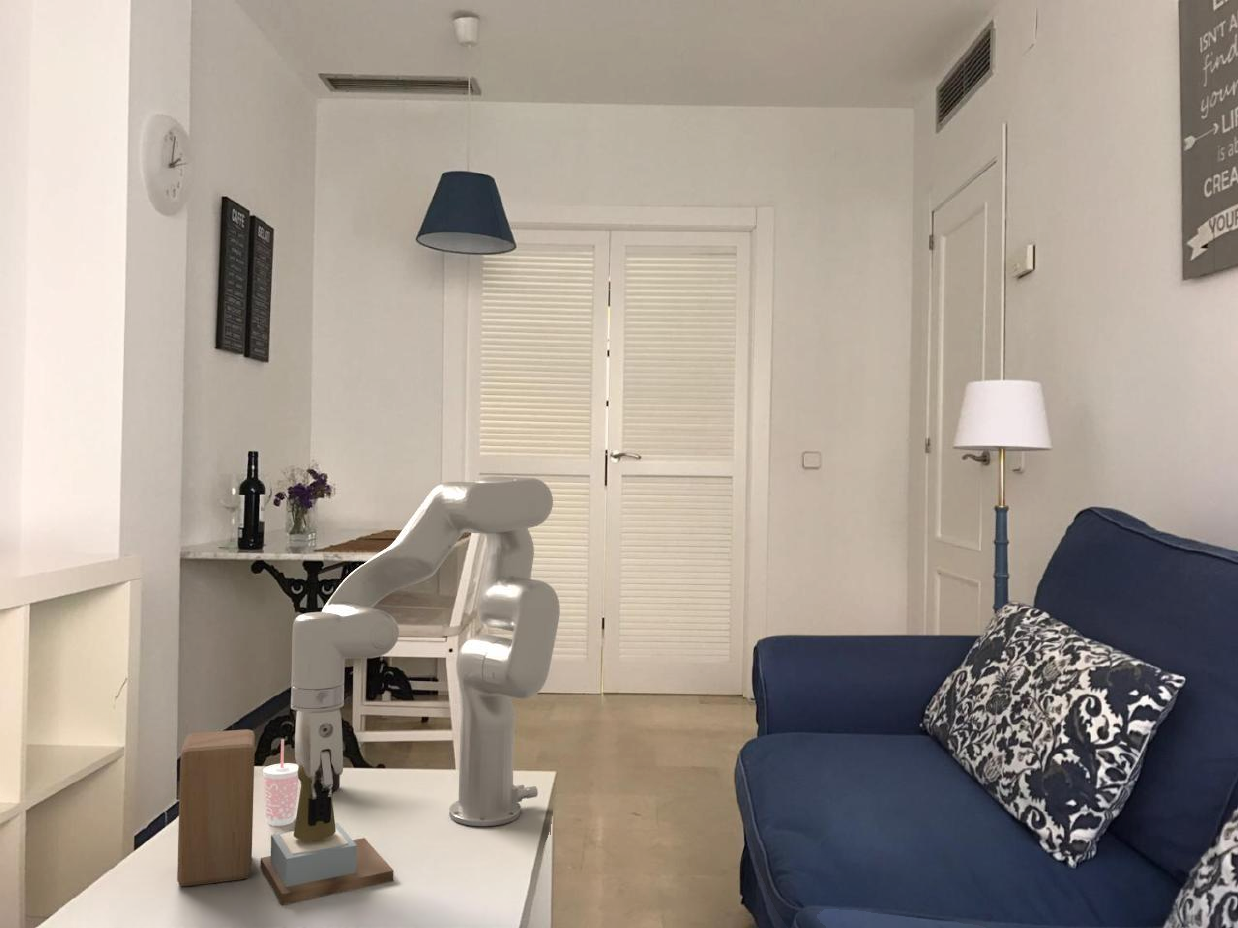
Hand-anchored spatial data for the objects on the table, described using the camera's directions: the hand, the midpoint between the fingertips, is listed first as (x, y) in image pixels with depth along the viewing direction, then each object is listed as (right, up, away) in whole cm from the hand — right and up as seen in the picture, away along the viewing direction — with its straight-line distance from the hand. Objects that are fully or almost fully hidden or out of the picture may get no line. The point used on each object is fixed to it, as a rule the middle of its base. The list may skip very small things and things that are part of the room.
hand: (315, 817), depth 141 cm
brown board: (+1, -9, +1) cm, 9 cm away
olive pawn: (0, -2, 0) cm, 2 cm away
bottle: (-11, -9, +37) cm, 40 cm away
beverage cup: (-13, -9, +22) cm, 27 cm away
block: (-15, -9, +1) cm, 18 cm away
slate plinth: (0, -7, 0) cm, 7 cm away
